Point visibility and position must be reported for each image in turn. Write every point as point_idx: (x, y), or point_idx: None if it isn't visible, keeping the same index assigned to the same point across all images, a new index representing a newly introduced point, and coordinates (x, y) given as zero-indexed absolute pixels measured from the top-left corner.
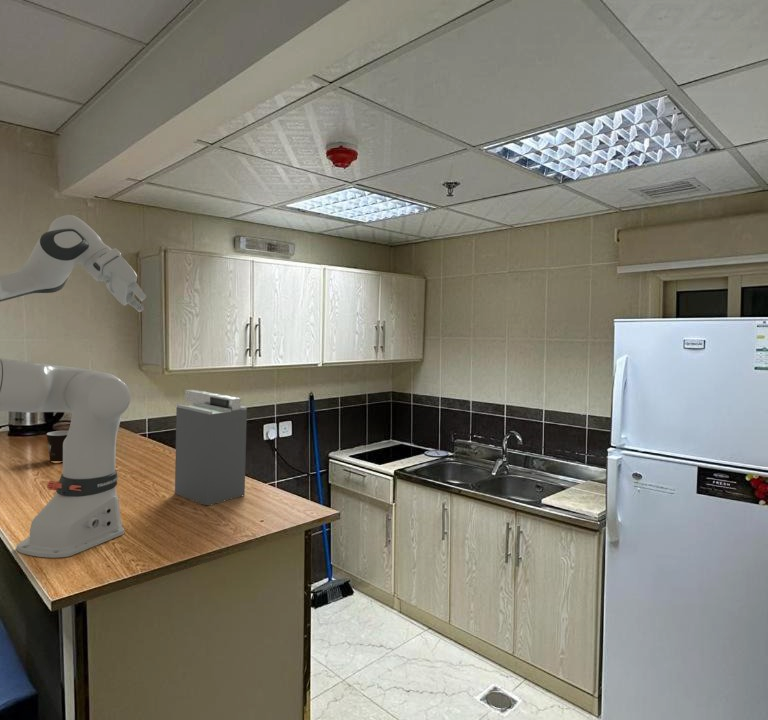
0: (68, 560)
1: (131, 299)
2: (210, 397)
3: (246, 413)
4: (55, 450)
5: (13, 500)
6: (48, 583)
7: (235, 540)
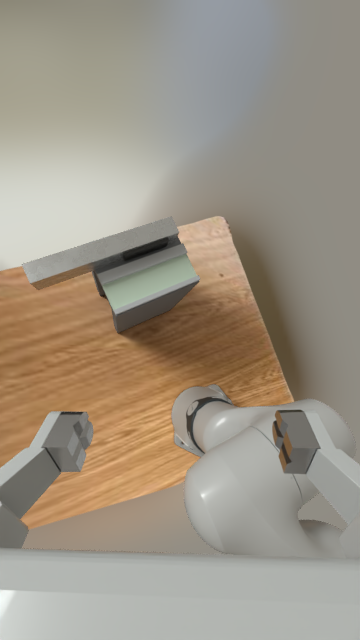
0: None
1: (6, 538)
2: (126, 255)
3: None
4: None
5: (73, 508)
6: None
7: (252, 305)
